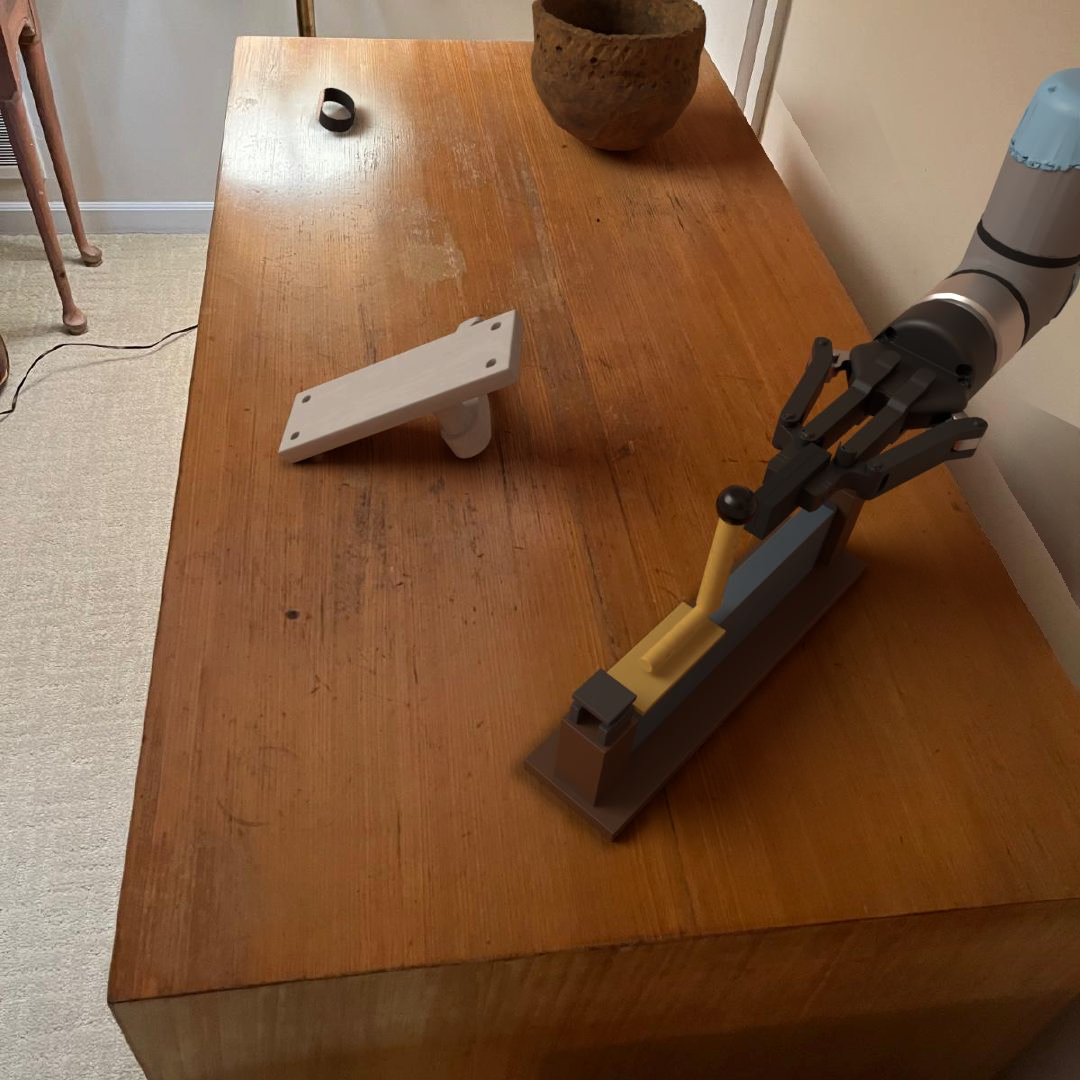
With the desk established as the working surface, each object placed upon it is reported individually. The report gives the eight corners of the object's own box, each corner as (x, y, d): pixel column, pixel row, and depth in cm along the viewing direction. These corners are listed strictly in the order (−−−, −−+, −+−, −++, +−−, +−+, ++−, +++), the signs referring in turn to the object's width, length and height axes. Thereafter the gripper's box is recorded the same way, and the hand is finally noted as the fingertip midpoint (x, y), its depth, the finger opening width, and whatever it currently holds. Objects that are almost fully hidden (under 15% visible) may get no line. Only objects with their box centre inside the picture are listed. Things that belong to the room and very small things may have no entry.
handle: (338, 518, 83) (559, 446, 75) (276, 452, 77) (508, 367, 70) (372, 379, 94) (568, 304, 87) (321, 313, 89) (524, 227, 82)
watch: (317, 106, 119) (314, 75, 117) (357, 107, 120) (355, 75, 117) (314, 137, 114) (310, 105, 112) (356, 137, 115) (354, 106, 112)
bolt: (701, 592, 62) (735, 470, 55) (730, 612, 61) (769, 491, 54) (628, 659, 58) (654, 538, 51) (659, 682, 57) (690, 562, 50)
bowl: (528, 97, 124) (536, -36, 113) (681, 110, 125) (703, -22, 114) (520, 172, 112) (528, 30, 101) (690, 186, 112) (717, 46, 101)
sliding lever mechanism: (782, 523, 78) (815, 429, 71) (863, 572, 75) (905, 480, 68) (522, 767, 62) (531, 678, 55) (611, 842, 59) (632, 758, 52)
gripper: (1009, 433, 71) (835, 621, 59) (848, 350, 77) (657, 506, 64) (1056, 345, 66) (875, 532, 53) (879, 262, 71) (677, 414, 59)
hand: (756, 518), depth 59 cm, fingers closed
